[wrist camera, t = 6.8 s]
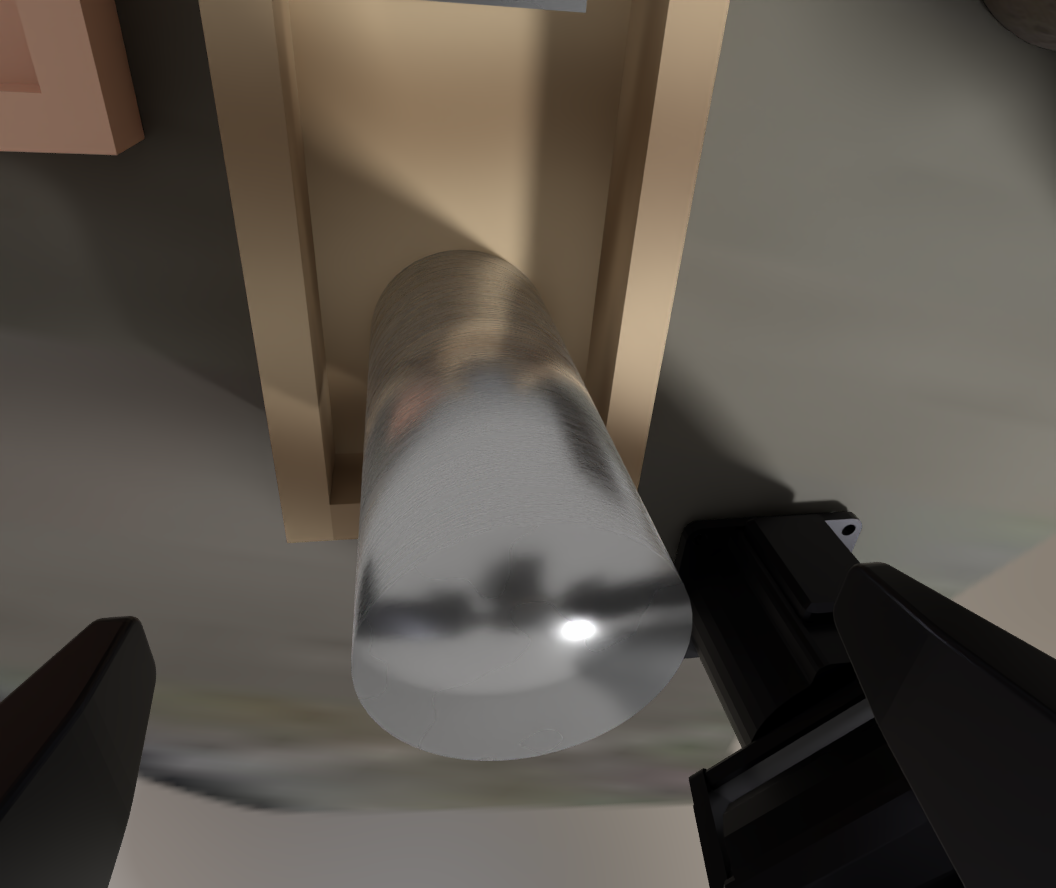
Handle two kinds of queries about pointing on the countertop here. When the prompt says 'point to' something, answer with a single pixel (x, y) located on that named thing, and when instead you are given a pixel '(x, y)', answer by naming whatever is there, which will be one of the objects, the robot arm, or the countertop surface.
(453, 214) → the socket block
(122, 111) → the rack tray
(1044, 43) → the pillar candle
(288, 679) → the countertop surface
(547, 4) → the grey rectangular metal block
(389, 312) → the grey tall cylinder
